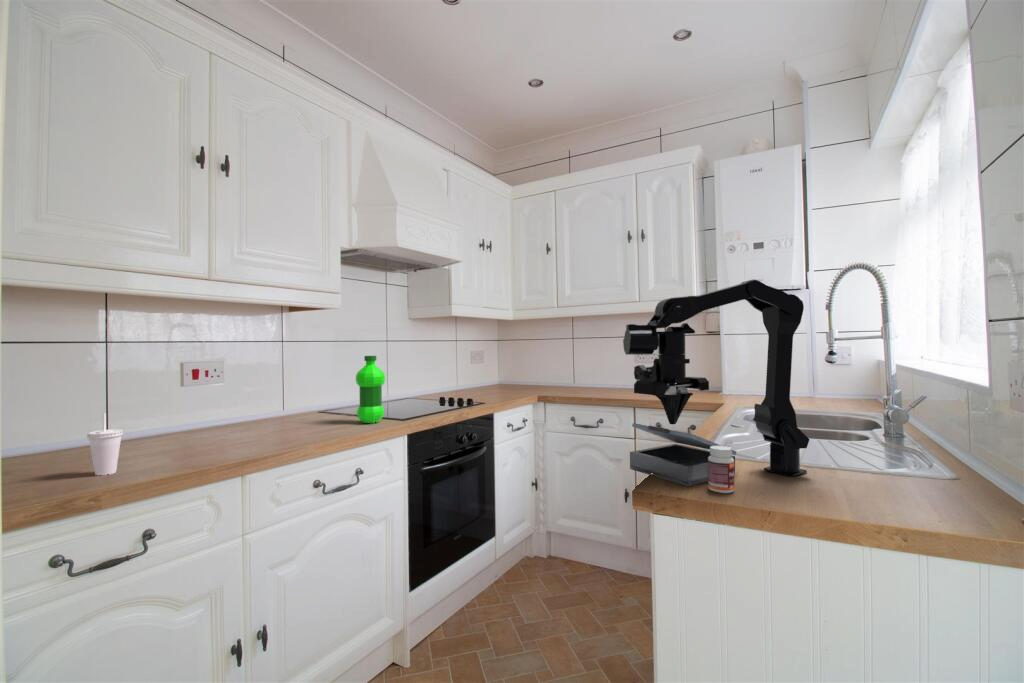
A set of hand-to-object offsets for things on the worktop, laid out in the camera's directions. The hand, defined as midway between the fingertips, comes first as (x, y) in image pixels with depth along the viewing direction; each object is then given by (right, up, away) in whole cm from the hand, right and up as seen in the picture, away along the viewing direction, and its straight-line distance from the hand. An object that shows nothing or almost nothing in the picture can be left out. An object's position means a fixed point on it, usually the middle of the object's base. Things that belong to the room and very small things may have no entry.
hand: (672, 424), depth 106 cm
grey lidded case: (+2, -11, +2) cm, 11 cm away
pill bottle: (+6, -11, -12) cm, 17 cm away
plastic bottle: (-89, -12, +72) cm, 115 cm away
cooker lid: (+2, -4, +2) cm, 5 cm away
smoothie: (-130, -12, +4) cm, 130 cm away
